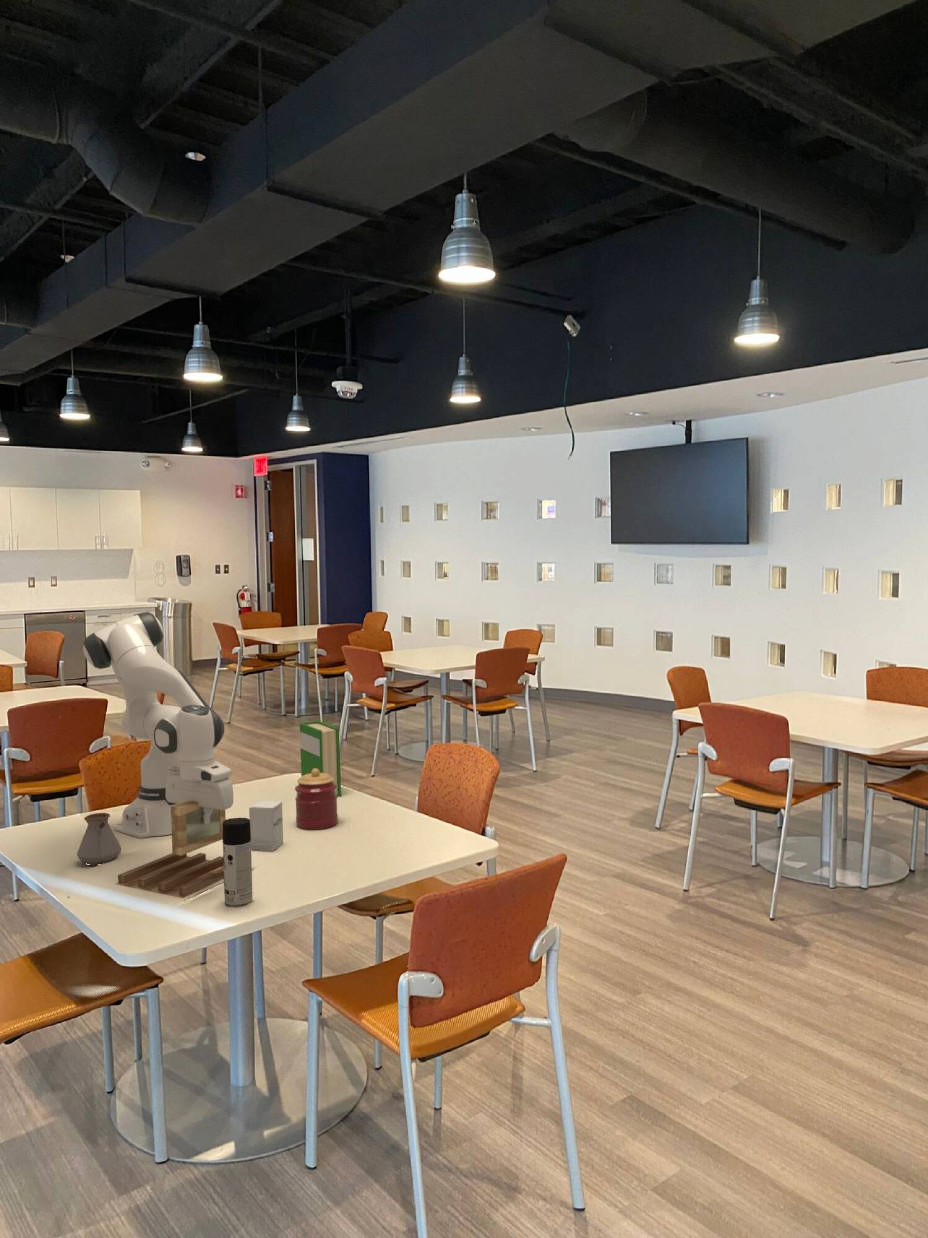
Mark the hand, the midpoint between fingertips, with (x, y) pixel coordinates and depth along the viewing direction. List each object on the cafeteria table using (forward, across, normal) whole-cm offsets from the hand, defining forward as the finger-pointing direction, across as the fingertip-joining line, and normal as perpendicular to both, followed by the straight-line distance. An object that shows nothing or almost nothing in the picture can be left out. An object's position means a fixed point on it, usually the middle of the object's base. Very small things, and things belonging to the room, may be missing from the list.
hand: (199, 822), depth 234 cm
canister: (+16, -4, +54) cm, 57 cm away
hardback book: (+16, -26, +86) cm, 91 cm away
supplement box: (+16, -4, +30) cm, 35 cm away
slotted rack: (+16, -7, 0) cm, 17 cm away
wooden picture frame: (+6, 0, 0) cm, 6 cm away
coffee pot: (+16, -35, -2) cm, 38 cm away
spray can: (+16, +17, -6) cm, 24 cm away
